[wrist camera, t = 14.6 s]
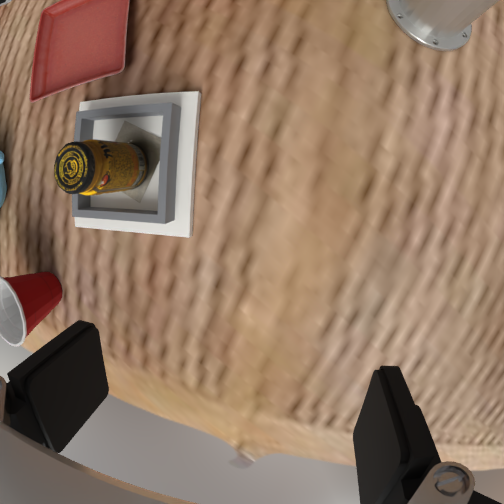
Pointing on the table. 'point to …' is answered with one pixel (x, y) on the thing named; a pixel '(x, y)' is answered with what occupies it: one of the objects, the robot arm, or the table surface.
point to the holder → (166, 173)
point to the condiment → (109, 164)
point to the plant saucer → (78, 44)
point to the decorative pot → (2, 180)
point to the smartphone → (4, 2)
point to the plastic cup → (26, 303)
